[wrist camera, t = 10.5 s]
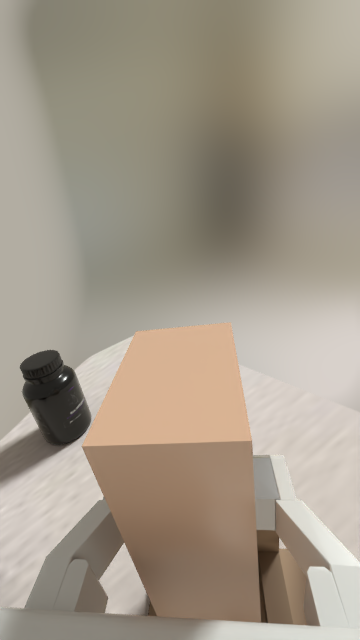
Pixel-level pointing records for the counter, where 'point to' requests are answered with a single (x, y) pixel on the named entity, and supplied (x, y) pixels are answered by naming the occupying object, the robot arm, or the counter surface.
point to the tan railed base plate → (277, 583)
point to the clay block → (182, 472)
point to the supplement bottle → (55, 397)
